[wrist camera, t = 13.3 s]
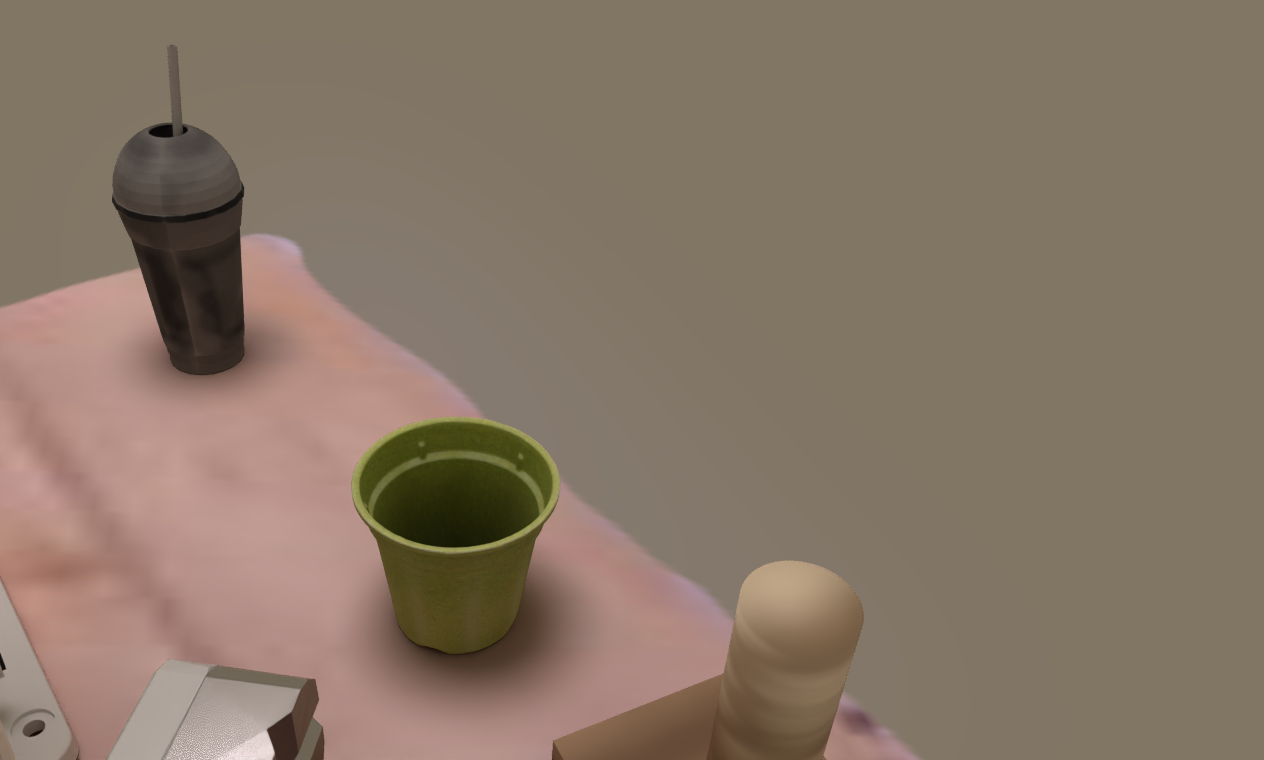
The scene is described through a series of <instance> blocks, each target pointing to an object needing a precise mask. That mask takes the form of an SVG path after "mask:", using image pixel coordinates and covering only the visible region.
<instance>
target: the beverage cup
mask: <svg viewBox="0 0 1264 760" xmlns="http://www.w3.org/2000/svg"><path fill="white" fill-rule="evenodd" d="M167 50H168V65H169V78H170V79H169V80H170V94H171V109H172V123H162V124H157V125H154V126H150V127H148V128H145V129H143V130H142V131H140V132H138V133H137V134H136V135H135V136H133V137H132V138H131V139H130V140H129V141H128V142H127V143H126V144H125V146H124V147H123V148H122V150H121V151H120V154H119V156H118V158H117V161H116V165H115V169H114V173H113V196H112V202H113V204H114V206H115V208H116V209H117V210H118V213H119V215H120V217H121V220H122V222H123V224H124V226H125V228H126V231H127V232H128V234H129V236H130V238H131V240H132V243H133V246H134V249H135V252H136V255H137V258H138V262H139V265H140V268H141V271H142V275H143V278H144V281H145V284H146V287H147V290H148V294H149V297H150V300H151V303H152V306H153V309H154V313H155V316H156V319H157V322H158V325H159V328H160V332H161V335H162V338H163V341H164V343H165V345H166V347H167V349H168V352H169V354H170V359H171V362H172V364H173V366H174V367H176V368H177V369H178V370H180V371H183V372H186V373H189V374H198V375H203V374H213V373H217V372H221V371H225V370H227V369H229V368H231V367H233V366H234V365H236V364H237V363H238V362H240V361H241V359H242V357H243V356H244V344H243V343H244V309H243V287H242V265H241V244H240V226H241V216H242V201H243V200H242V198H243V197H244V186H243V184H242V182H241V180H240V178H239V173H238V170H237V168H236V165H235V163H234V162H233V160H232V159H231V157H230V155H229V154H228V152H227V151H226V150H225V149H224V147H223V146H222V145H221V144H220V143H219V142H218V141H217V140H216V139H215V138H214V137H212V136H211V135H209V134H207V133H206V132H204V131H202V130H200V129H199V128H196V127H193V126H190V125H187V124H182V112H181V97H180V82H179V67H178V52H177V46H176V45H167Z"/></svg>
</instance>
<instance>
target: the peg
mask: <svg viewBox="0 0 1264 760" xmlns="http://www.w3.org/2000/svg"><path fill="white" fill-rule="evenodd" d="M863 620H864V615H863V609H862V604H861V602H860V600H859V598H858V596H857V595H856V593H855V592H854V590H853V589H852V588H851V587H850V586H849V585H848V584H847V583H846V582H845V581H844V580H843V579H841V578H840V577H839V576H837V575H836V574H834V573H832V572H831V571H829V570H827V569H824V568H822V567H820V566H817V565H814V564H810V563H806V562H800V561H778V562H773V563H769V564H766V565H764V566H761V567H759V568H758V569H756V570H755V571H753V572H752V573H751V574H750V575H749V576H748V577H747V578H746V580H745V581H744V583H743V585H742V587H741V591H740V596H739V601H738V606H737V611H736V616H735V621H734V625H733V630H732V635H731V640H730V645H729V650H728V655H727V660H726V665H725V670H724V675H723V680H722V685H721V690H720V695H719V700H718V705H717V710H716V715H715V720H714V725H713V730H712V735H711V740H710V744H709V749H708V754H707V759H706V760H822V758H823V754H824V751H825V748H826V744H827V741H828V738H829V735H830V731H831V728H832V725H833V721H834V718H835V715H836V712H837V708H838V705H839V702H840V698H841V695H842V692H843V688H844V685H845V682H846V679H847V675H848V672H849V669H850V665H851V662H852V659H853V655H854V652H855V649H856V646H857V642H858V639H859V636H860V633H861V629H862V626H863Z"/></svg>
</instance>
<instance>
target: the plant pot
mask: <svg viewBox="0 0 1264 760" xmlns="http://www.w3.org/2000/svg"><path fill="white" fill-rule="evenodd" d="M351 490H352V497H353V502H354V505H355V508H356V510H357V512H358V514H359V516H360V517H361V518H362V520H363V521H364V522H365V524H366V525H367V526H368V527H369V529H370V531H371V532H372V534H373V536H374V537H375V538H376V540H377V543H378V547H379V551H380V555H381V559H382V562H383V566H384V570H385V574H386V578H387V582H388V586H389V590H390V594H391V598H392V602H393V606H394V609H395V614H396V618H397V621H398V624H399V626H400V628H401V630H402V631H403V632H404V634H405V635H406V636H407V637H408V638H409V639H410V640H412V641H413V642H414V643H416V644H418V645H420V646H428V647H432V648H435V649H438V650H440V651H443V652H445V653H448V654H464V653H470V652H474V651H478V650H481V649H483V648H486V647H488V646H490V645H492V644H494V643H495V642H497V641H498V640H500V639H501V638H502V637H503V636H504V635H505V634H506V633H507V632H508V630H509V629H510V627H511V625H512V624H513V622H514V620H515V618H516V616H517V614H518V611H519V606H520V602H521V598H522V594H523V589H524V585H525V580H526V576H527V572H528V568H529V564H530V560H531V556H532V552H533V548H534V544H535V540H536V538H537V536H538V535H539V533H540V532H541V530H542V527H543V525H544V523H545V522H546V521H547V519H548V518H549V517H550V515H551V514H552V512H553V511H554V508H555V506H556V504H557V501H558V497H559V492H560V477H559V472H558V469H557V467H556V465H555V463H554V461H553V460H552V458H551V456H550V455H549V454H548V452H547V451H546V450H545V449H544V448H543V447H542V446H541V445H540V444H539V443H538V442H537V441H535V440H534V439H533V438H531V437H529V436H528V435H526V434H524V433H522V432H521V431H519V430H517V429H514V428H512V427H510V426H507V425H504V424H500V423H497V422H495V421H491V420H485V419H480V418H472V417H445V418H433V419H428V420H423V421H419V422H415V423H412V424H408V425H406V426H403V427H401V428H398V429H397V430H395V431H393V432H391V433H389V434H387V435H386V436H384V437H383V438H381V439H380V440H378V441H377V442H375V443H374V444H373V445H372V446H371V447H370V448H369V449H368V450H367V451H366V452H365V453H364V455H363V456H362V457H361V459H360V460H359V462H358V464H357V465H356V467H355V470H354V472H353V476H352V482H351Z"/></svg>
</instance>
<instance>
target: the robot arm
mask: <svg viewBox="0 0 1264 760" xmlns="http://www.w3.org/2000/svg"><path fill="white" fill-rule="evenodd" d="M318 701H319V697H318V691H317V686H316V681H315V679H310V678H302V677H295V676H288V675H281V674H274V673H267V672H260V671H253V670H246V669H239V668H232V667H225V666H219V665H213V664H205V663H197V662H189V661H181V660H173V659H168V660H167V661H166V662H165V663H164V664H163V665H162V666H161V667H160V668H159V669H158V670H157V671H156V672H155V673H154V675H153V677H152V678H151V680H150V682H149V684H148V686H147V687H146V689H145V691H144V693H143V694H142V696H141V698H140V700H139V702H138V703H137V705H136V707H135V709H134V711H133V712H132V714H131V716H130V718H129V719H128V721H127V723H126V725H125V727H124V728H123V730H122V732H121V734H120V736H119V737H118V739H117V741H116V743H115V745H114V746H113V748H112V750H111V752H110V753H109V755H108V757H107V759H106V760H323V759H324V734H323V727H322V726H321V725H320V724H319V723H318V722H317V721H316V720H315V719H314V718H313V714H314V712H315V709H316V706H317V704H318ZM40 730H43V731H42V732H41V733H40V734H39V735H37V736H33V737H29V736H30V735H31V734H32V733H34V732H36V731H40ZM78 752H79V748H78V743H77V740H76V738H75V736H74V734H73V732H72V730H71V727H70V725H69V723H68V721H67V719H66V717H65V714H64V712H63V710H62V708H61V706H60V704H59V702H58V699H57V697H56V695H55V693H54V691H53V689H52V687H51V684H50V682H49V680H48V678H47V676H46V674H45V672H44V669H43V667H42V665H41V663H40V661H39V659H38V656H37V654H36V652H35V650H34V648H33V646H32V644H31V641H30V639H29V637H28V635H27V633H26V631H25V629H24V626H23V624H22V622H21V620H20V618H19V616H18V614H17V611H16V609H15V607H14V605H13V603H12V601H11V598H10V596H9V594H8V592H7V590H6V588H5V586H4V583H3V581H2V579H1V577H0V760H76V759H77V756H78Z"/></svg>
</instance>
